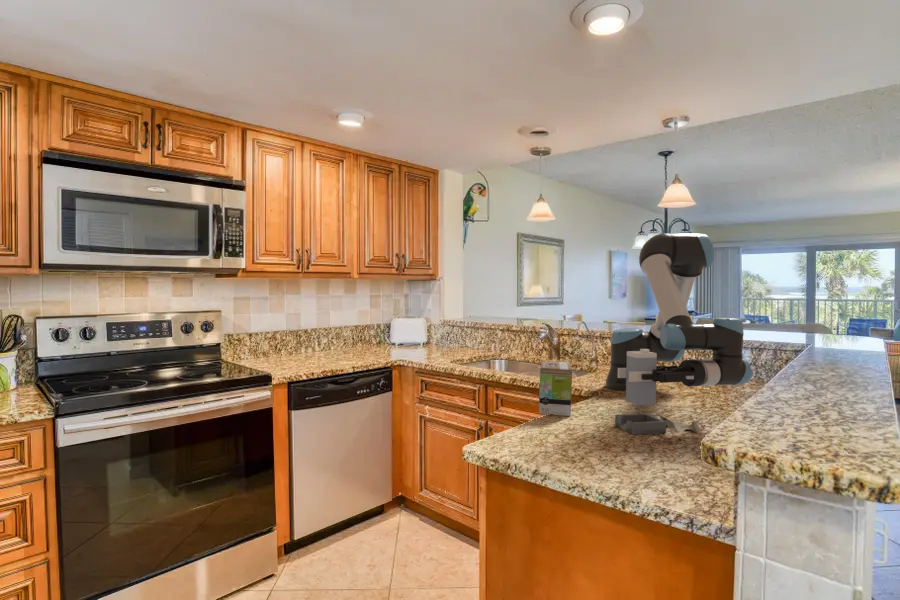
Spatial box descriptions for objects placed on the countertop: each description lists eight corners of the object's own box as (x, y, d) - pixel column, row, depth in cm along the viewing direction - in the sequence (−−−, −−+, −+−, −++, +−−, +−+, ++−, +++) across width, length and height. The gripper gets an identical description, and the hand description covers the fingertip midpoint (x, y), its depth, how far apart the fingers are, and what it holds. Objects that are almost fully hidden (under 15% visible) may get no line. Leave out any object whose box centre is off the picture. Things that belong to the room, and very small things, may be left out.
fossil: (682, 436, 132) (682, 423, 132) (655, 424, 142) (655, 412, 142) (703, 434, 134) (703, 421, 133) (675, 423, 144) (675, 411, 144)
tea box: (571, 416, 149) (572, 368, 148) (538, 414, 151) (539, 367, 150) (569, 405, 163) (570, 361, 163) (539, 403, 165) (540, 360, 165)
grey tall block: (625, 401, 138) (626, 348, 137) (645, 400, 139) (646, 348, 139) (636, 405, 133) (636, 350, 133) (655, 404, 134) (656, 350, 134)
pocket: (614, 425, 140) (615, 414, 140) (646, 423, 142) (646, 413, 142) (632, 434, 131) (632, 423, 131) (665, 432, 133) (666, 421, 133)
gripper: (720, 392, 130) (642, 395, 126) (677, 380, 148) (607, 382, 144) (721, 364, 130) (643, 366, 126) (677, 355, 148) (607, 356, 143)
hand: (624, 374), depth 135 cm, fingers closed on grey tall block, 5 cm apart
